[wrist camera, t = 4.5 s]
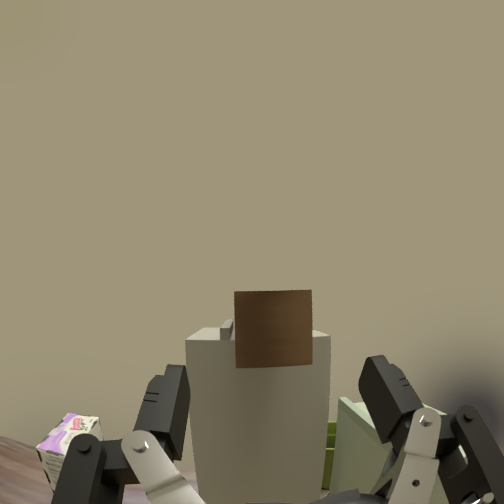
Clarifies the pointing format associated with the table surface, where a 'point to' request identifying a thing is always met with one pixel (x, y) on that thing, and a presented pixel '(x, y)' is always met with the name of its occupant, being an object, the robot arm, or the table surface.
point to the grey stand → (257, 422)
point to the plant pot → (329, 454)
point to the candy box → (64, 442)
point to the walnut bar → (273, 328)
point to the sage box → (364, 453)
